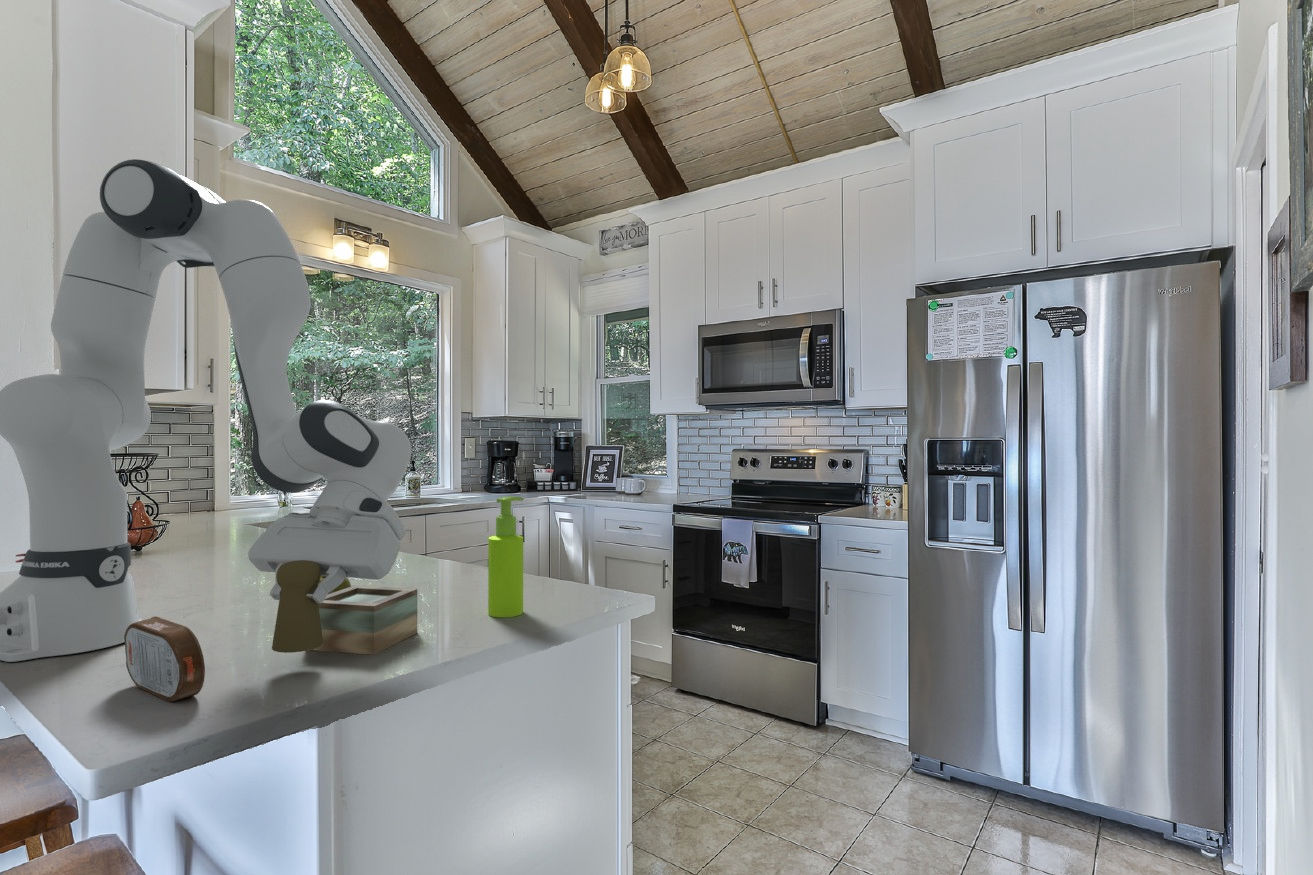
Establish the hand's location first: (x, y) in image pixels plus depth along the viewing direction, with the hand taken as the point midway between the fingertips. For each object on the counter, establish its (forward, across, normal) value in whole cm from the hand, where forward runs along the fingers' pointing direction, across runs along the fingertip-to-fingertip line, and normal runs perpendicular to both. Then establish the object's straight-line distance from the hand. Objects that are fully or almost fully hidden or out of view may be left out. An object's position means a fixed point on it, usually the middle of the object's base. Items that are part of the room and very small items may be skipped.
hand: (295, 599), depth 90 cm
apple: (-10, -13, +24) cm, 29 cm away
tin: (+14, -10, 0) cm, 17 cm away
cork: (+4, 0, +5) cm, 6 cm away
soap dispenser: (-17, +15, +30) cm, 38 cm away
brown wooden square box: (-3, 0, +16) cm, 17 cm away
